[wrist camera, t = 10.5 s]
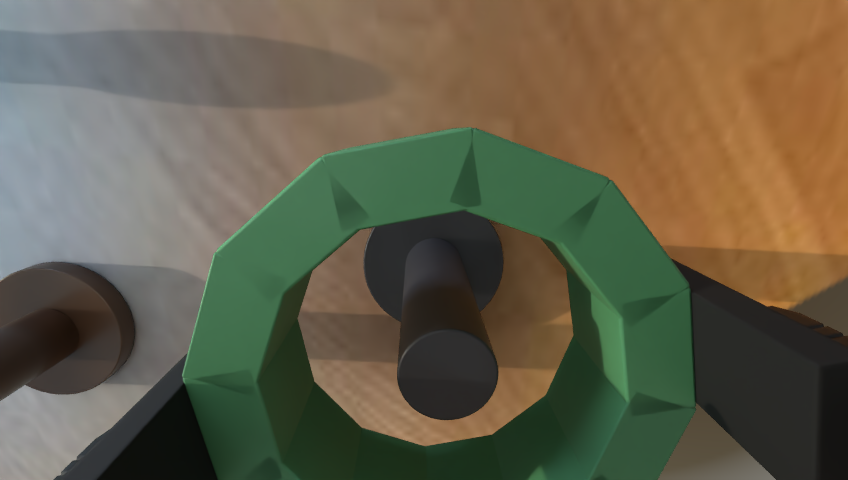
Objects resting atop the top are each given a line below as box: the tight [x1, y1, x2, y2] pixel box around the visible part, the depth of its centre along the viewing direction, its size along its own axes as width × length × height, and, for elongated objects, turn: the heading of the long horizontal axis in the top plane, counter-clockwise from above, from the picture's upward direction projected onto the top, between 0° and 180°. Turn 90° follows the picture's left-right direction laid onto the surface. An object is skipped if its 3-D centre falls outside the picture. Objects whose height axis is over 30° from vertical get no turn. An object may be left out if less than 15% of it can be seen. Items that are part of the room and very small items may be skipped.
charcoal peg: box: [364, 211, 503, 420], centre depth 16 cm, size 6×6×10 cm
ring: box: [182, 127, 696, 480], centre depth 12 cm, size 11×11×4 cm
